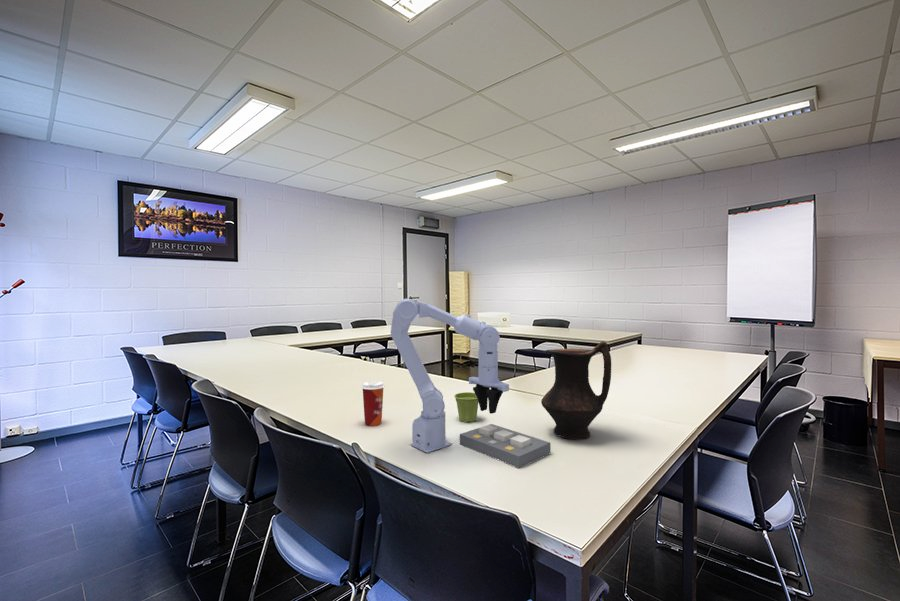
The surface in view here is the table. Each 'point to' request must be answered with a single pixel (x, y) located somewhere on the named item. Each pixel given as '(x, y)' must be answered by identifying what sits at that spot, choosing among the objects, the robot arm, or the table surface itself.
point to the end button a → (488, 430)
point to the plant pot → (467, 406)
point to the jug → (576, 391)
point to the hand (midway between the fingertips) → (488, 411)
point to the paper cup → (373, 402)
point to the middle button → (503, 436)
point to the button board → (505, 447)
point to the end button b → (520, 441)
